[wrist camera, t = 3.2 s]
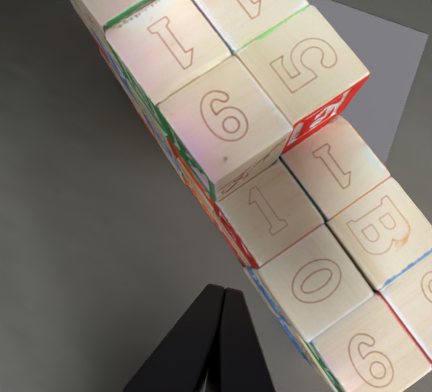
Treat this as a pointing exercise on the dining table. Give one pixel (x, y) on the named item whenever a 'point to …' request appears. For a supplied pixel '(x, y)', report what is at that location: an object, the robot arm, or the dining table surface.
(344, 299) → the stack of blocks
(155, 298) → the dining table surface
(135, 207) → the dining table surface
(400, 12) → the dining table surface
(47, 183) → the dining table surface
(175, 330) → the robot arm
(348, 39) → the grey flat board
